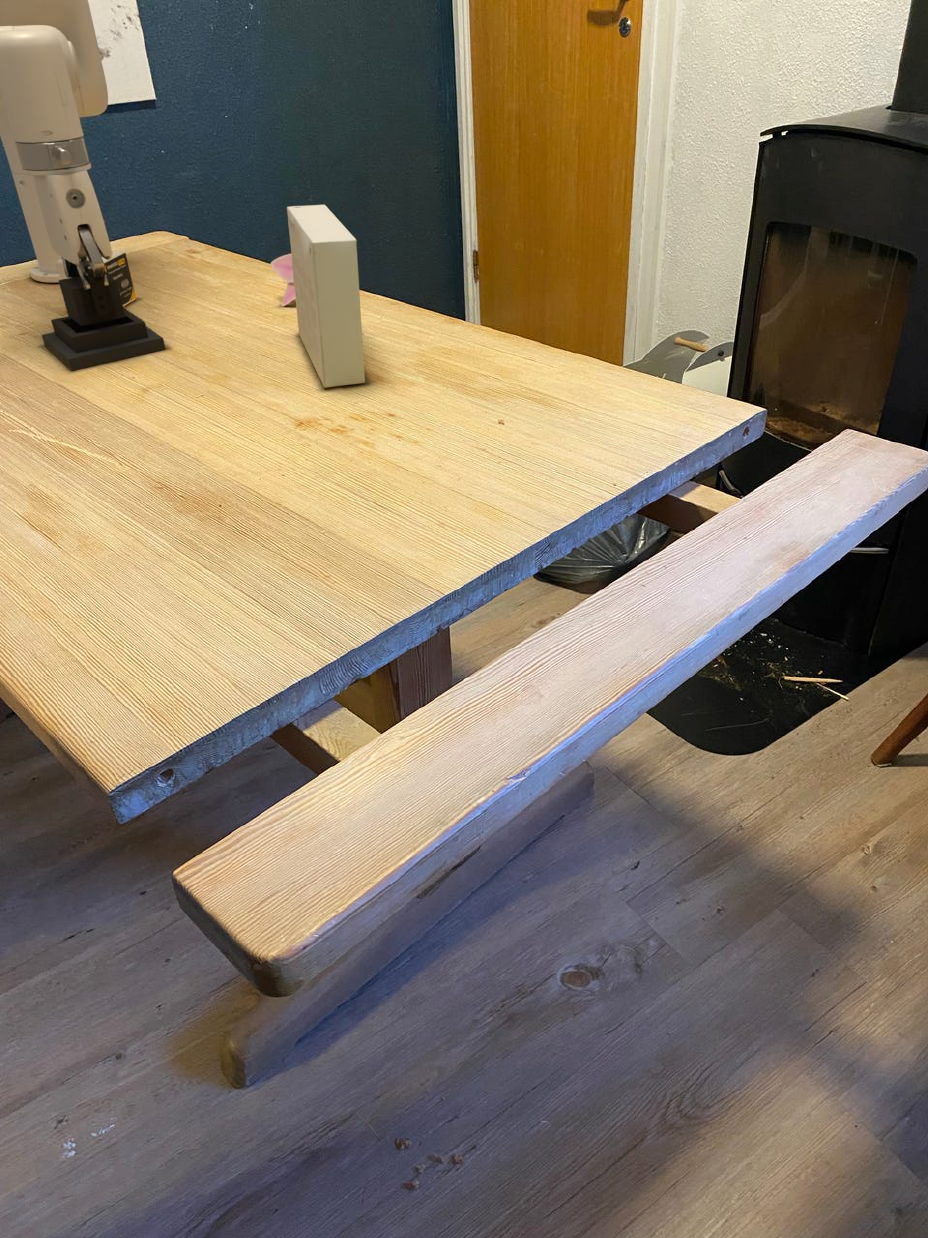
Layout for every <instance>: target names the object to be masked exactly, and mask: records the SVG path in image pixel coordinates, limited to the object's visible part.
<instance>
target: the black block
mask: <svg viewBox="0 0 928 1238" xmlns="http://www.w3.org/2000/svg"><path fill="white" fill-rule="evenodd" d="M106 277H107V280H108V283H109V287H110V291H111V295H112V299H113V303H114V307H115V311H116V318H115V319H120V318H124V317H126V316H125V312H124V308H125V307H123V304H122V300H121V296H120V292H119V288H118V284H117V281H116V280H114V279H113V278H111V277H109V276H108V275H106ZM58 284H59V288H60V291H61V295H62V298H63V299H62V300H63V302H64V305H65V309H66V313H67V316H69V317H70V318H72V319H73V320H74V321H75V322H77V323H78V324H79V325H81V326H86V325H91V324H96V323H100V322H96V323H93V322H92V321H90V319H89V315H88V311H87V308H86V304H85V300H84V296H83V293H82V289H85V288H84V286H83V283H82V280H81V277H80V276H79V277H73V278H68V279H62V280H59V283H58ZM115 319H110V320H115ZM110 320H105V321H110ZM105 321H101V322H105Z"/></svg>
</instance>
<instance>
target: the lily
mask: <svg viewBox="0 0 928 1238" xmlns="http://www.w3.org/2000/svg"><path fill="white" fill-rule="evenodd" d="M269 266H270V268H271V269H272V271H273V272H274V273H275V274H277V276H278V277H280V278H281V279H282V280H283V281H286V282H288V283H287V285H286V288H285V290H284V293H283V296H282V299H281V307H285V306H286V305H288V304H290V303H291V302H293V301H294V300H296V295H295V289H294V280H293V268H292V253H288V254H287V253H286V254H284V255H281V256H279V257H277V258H275V259H274V260H272V261H271V262H270V264H269Z"/></svg>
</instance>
